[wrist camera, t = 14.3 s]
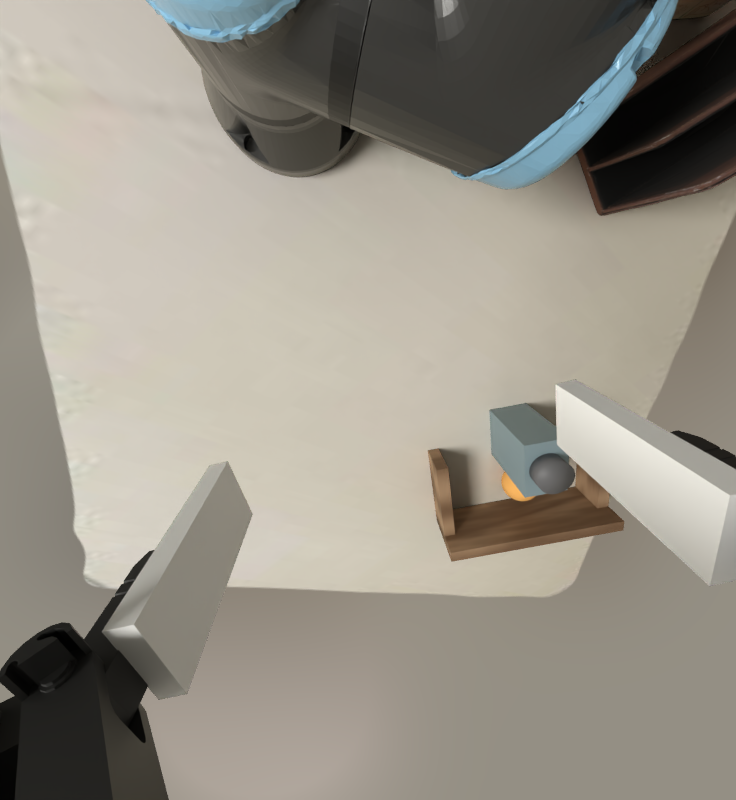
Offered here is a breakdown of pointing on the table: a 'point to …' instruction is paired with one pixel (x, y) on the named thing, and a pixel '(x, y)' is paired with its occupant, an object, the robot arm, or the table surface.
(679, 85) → the letter holder
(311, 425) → the table surface
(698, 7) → the stack of blocks
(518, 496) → the ball
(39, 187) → the table surface
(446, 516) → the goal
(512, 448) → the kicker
